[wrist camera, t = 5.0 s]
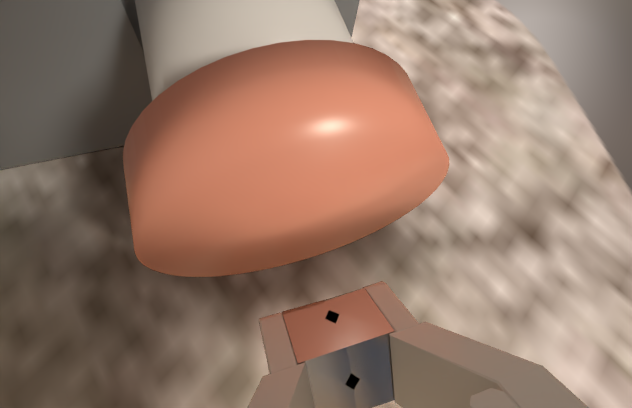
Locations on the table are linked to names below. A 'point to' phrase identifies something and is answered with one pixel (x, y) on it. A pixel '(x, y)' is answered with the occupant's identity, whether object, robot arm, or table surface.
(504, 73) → the table surface
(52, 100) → the mount
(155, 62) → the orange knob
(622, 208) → the table surface
